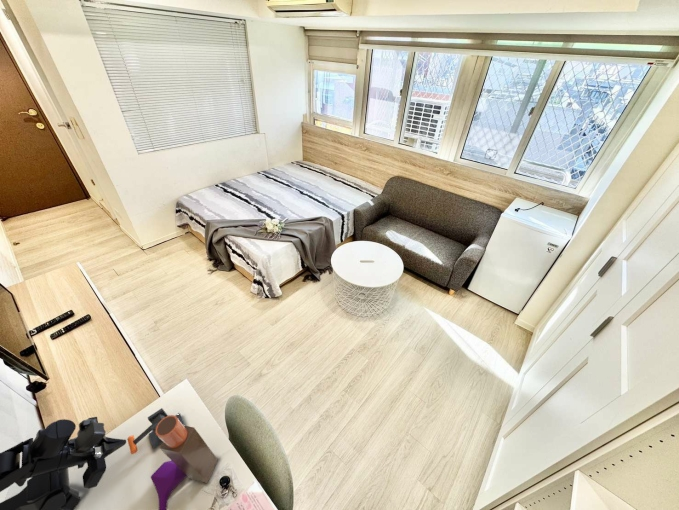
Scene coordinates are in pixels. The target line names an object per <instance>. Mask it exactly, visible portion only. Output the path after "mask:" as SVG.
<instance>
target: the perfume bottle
mask: <svg viewBox="0 0 679 510" xmlns="http://www.w3.org/2000/svg"><path fill="white" fill-rule="evenodd" d="M187 477H188V476H187V475H186V474H185V473H184V472H183V471H182V470H181V469H180V468H179V467H178V466H177V465H176V464H175V463H174V462H173V461H172V460H171V459H170V460H167V461H164V462H163V463H162V464H161V465H160V466H159V467H158V468H157V469H156V470H155V471H154V472H153V473H152V474H151V475H150V479H151V481H152V483H153V486H154V488H155V490H156V493H157V496H158V510H167V506H168V501H169V497H170V495H171V493H173V491H174V490H175V489H176V487H177V486H179V484H181V482H183V480H184V479H186V478H187Z"/></svg>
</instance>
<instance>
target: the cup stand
mask: <svg viewBox="0 0 679 510" xmlns="http://www.w3.org/2000/svg"><path fill="white" fill-rule="evenodd" d="M183 426H184V427H185V428H186V430H187V437H186V439H185V441H184V442H183V443H182V444H181V445H180V446H178V447H176V448H169V447H168V446H167V445H166V444H165V443H164V442H163V443H162V444H161V445H159V446H158V448H159V450H160V451H161V452H163V454H165V456H167V458H169V460H170V461H171V460H172V461H173V462H174V463H175V464H176V465H177V466H178V467H179V468H180V469H181V470H182V471H183V472H184V473H185V474H186V475H187V476H186V477H187V478H189V479H191V480H194V481H197V482H201V483H205V484H208V483H209V481H210V479H211V477H212V475H213V472H214V470H215V468H216V466H217V464H218V461H219V459H218V458H217V456H216V455H215V454H214V453H213V451H212V449H211V448H210V447H209V445H208V444H207V443H206V442H205V439H203V438H202V436H201V435H200V433H199V432H198V431H197V430H196V428H195V427H194V426H190V425H186V424H185V425H183Z"/></svg>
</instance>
